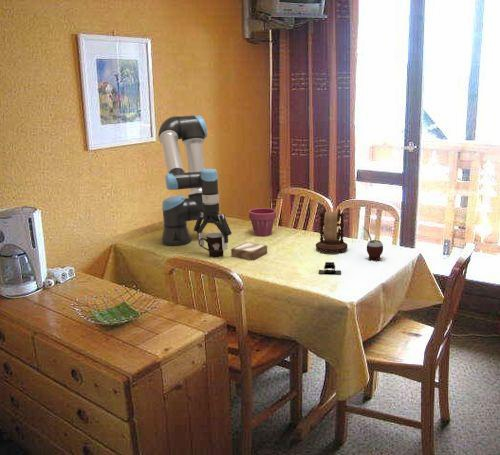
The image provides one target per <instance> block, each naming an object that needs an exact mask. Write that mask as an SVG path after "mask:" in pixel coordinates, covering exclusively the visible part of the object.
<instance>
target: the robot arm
mask: <svg viewBox="0 0 500 455" xmlns="http://www.w3.org/2000/svg"><path fill="white" fill-rule="evenodd" d="M206 124H207V123H206V121H205V119H204V117H203V116H201V115H195V114H193V115H181V116H180V115H178V116H176V115H175V116H170V117H168V118H167V119H165V120H164V121H163V122H162V123H161V125H160V126H159V129H158V139H159V142H160V143H161V145H162V149H163V154H164V159H165V164H166V169H167V173H166V174H165V176H164V177H165V178H164V181H165V186H166V187H165V188H166V189H167V190H169V191H170V190H171V191H173V190H174V191H177V190H187V189H190V191H189V193H188V194H187V197H185V195H174V196H170V197H166V198H165V199H163V200H162V206H161V207H162V208H161V210H162V218H163V220H162V221H163V231H162V235H161V244H162V243H163V244H162V245H164V244H165V245H164V246H169V247H170V246H171V247H174V246H175V247H176V246H183V245H187V244H190V243H191V242H192V237H191V234H190V231H189V229H188V226H187V224H188V223H187V222H192V221H196V222H195V225H194V228H193V232H196V233H197V239H198V242H199V240H200V239H201V238H205V236H204V233H205V232H204V229H205V228H206V226H208V225H207V224H213V225H215V226H216V227H217V229H218V230H219V233H222V235H223V236H222V248H223V250H224V251H225V250H228V243H229V236H230V235H232V234H233V233H232V231H231V229H230V226H229V223H228V221H227V219H226V215H225V213H223V214H220V203H219V202H220V199H219V198H220V197H219V196H220V195H219V184H218V183H219V182H218V181H219V176H218V171H217V169H215V168H205V159H204V149H203V144H204V142H206V140H205V139H206V138H208V128H207V125H206ZM178 140H181V143H182V144H183V145H184V146H185V150H186V151H185V152H186V160H187V168H188V169H187V170H188V172H185V168H184V165H183V164H184V163H183V160H182V156H181V151H180V147H179V143H178ZM199 243H200V245H201V246H203V247H204V246H205V240H203V239H202V240H200V242H199ZM199 243H198V246H199V247H200V248H202V247H201V246H200V245H199Z"/></svg>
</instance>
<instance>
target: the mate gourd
mask: <svg viewBox="0 0 500 455" xmlns="http://www.w3.org/2000/svg"><path fill="white" fill-rule="evenodd" d="M362 228H363V229H364V230H366V232H367V234H368V238H369V241H368V242H367V244H366V252H367V254H368V257H369V258H368V261H374V260H375V261H378V262H380V261H381V256H382V254H383V252H384V245H383V243H382V241H381V240H376V239H372V237H371V234H370V231H369V230H368V228H366V227H365V226H362Z"/></svg>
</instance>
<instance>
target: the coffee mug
mask: <svg viewBox="0 0 500 455" xmlns="http://www.w3.org/2000/svg"><path fill="white" fill-rule="evenodd" d="M222 236H223V235H222V233H221V232H220V231H219V232H210V233H207V234H206V235H205V237H206V238H205V237H204V238H201V239H200V240H202V239H203V240H204V242H206V244H207V248H206V247H204V246H201V245H200V243H199V242H200V240H199V239H198V246H199V245H200V246H201V247H200V248H203V249H204V250H206V251H208V253H209V257H210V258H222V257H224V251H225V250H223V248H222Z"/></svg>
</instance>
